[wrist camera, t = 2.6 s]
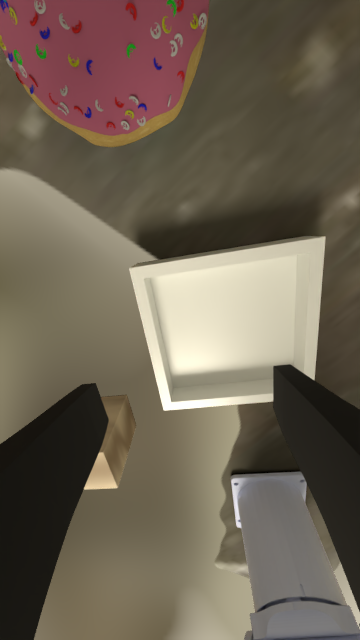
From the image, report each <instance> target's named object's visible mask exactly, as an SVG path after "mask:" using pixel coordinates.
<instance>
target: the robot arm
mask: <svg viewBox="0 0 360 640" xmlns="http://www.w3.org/2000/svg"><path fill="white" fill-rule="evenodd" d="M273 408H274V411H275V414H276V417H277V420H278V422H279V425H280V428H281V431H282V433H283V436H284V438H285V440H286V442H287V444H288V446H289V448H290V450H291V452H292V454H293V456H294V458H295V460H296V462H297V465H298V467H299V469H300V471H301V472H282V473H261V474H239V475H232V476H231V484H232V493H233V501H234V510H235V518H236V525H237V527H239V528H242V534H243V540H244V547H245V553H246V559H247V565H248V571H249V577H250V583H251V590H252V596H253V602H254V608H255V613H251V614H250V619H251V625H252V631H247V632H246V635H245V638H244V640H360V629H359V627H358V625H357V622H356V620H355V617H354V615H353V613H352V610H351V608H350V606H348V605H347V604H346V601H345V599H344V596H343V594H342V591H341V589H340V587H339V584H338V582H337V579H336V577H335V574H334V572H333V569H332V567H331V565H330V562H329V560H328V557H327V555H326V552H325V550H324V548H323V545H322V543H321V540H320V538H319V535H318V533H317V531H316V528H315V526H314V523H313V521H312V518H311V516H310V514H309V511H308V509H307V506H306V504H305V499H306V486H307V485H308V487H309V489H310V491H311V493H312V495H313V497H314V499H315V501H316V503H317V506H318V508H319V510H320V512H321V515H322V517H323V519H324V521H325V524H326V526H327V529H328V531H329V534H330V536H331V539H332V542H333V544H334V547H335V549H336V552H337V554H338V557H339V559H340V562H341V564H342V567H343V569H344V572H345V575H346V577H347V580H348V582H349V585H350V588H351V590H352V593H353V595H354V598H355V601H356V603H357V606H358V609H359V611H360V410H359V409H358V408H356V407H354V406H353V405H351V404H349V403H348V402H346V401H345V400H343V399H342V398H340V397H338V396H337V395H335V394H334V393H332V392H331V391H329V390H328V389H326V388H325V387H323V386H322V385H320V384H319V383H317V382H316V381H314V380H313V379H311V378H310V377H308V376H307V375H305V374H304V373H302V372H301V371H300V370H298V369H297V368H295V367H294V366H292V365H290V364H288V365H277V366H273ZM108 422H109V419H108V416H107V413H106V410H105V408H104V405H103V402H102V399H101V397H100V394H99V391H98V388H97V386H96V383H93V384H82V385H80V386H79V387H77V388H76V389H75V390H73V391H72V392H70V393H69V394H68V395H66V396H65V397H63V398H62V399H61V400H59V401H58V402H57V403H56V404H54V405H53V406H52V407H50V408H49V409H48V410H46V411H45V412H44V413H42V414H41V415H40V416H38V417H37V418H36V419H34V420H33V421H32V422H30V423H29V424H28V425H26V426H25V427H24V428H22V429H21V430H19V431H18V432H17V433H15V434H14V435H13V436H11V437H10V438H8V439H7V440H6V441H4V442H3V443H1V444H0V640H34V636H35V633H36V629H37V626H38V622H39V619H40V615H41V612H42V608H43V605H44V602H45V598H46V595H47V592H48V588H49V585H50V582H51V579H52V576H53V572H54V569H55V566H56V562H57V560H58V557H59V554H60V551H61V548H62V545H63V542H64V539H65V536H66V533H67V530H68V527H69V524H70V521H71V519H72V516H73V513H74V511H75V508H76V506H77V504H78V501H79V499H80V497H81V494H82V492H83V490H84V487H85V485H86V482H87V480H88V478H89V475H90V473H91V471H92V468H93V466H94V464H95V461H96V459H97V456H98V454H99V451H100V449H101V446H102V443H103V440H104V437H105V434H106V430H107V426H108ZM359 626H360V624H359Z"/></svg>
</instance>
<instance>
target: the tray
mask: <svg viewBox="0 0 360 640" xmlns="http://www.w3.org/2000/svg"><path fill="white" fill-rule="evenodd" d="M324 249H325V237H324V236H302V237H296V238H290V239H283V240H277V241H271V242H265V243H259V244H253V245H247V246H241V247H235V248H228V249H222V250H216V251H210V252H204V253H198V254H192V255H186V256H179V257H173V258H167V259H161V260H155V261H149V262H143V263H138V264H136V265H134V266H132V267H130V268H129V270H130V274H131V278H132V283H133V286H134V291H135V295H136V299H137V303H138V307H139V311H140V315H141V319H142V323H143V327H144V332H145V336H146V339H147V344H148V348H149V352H150V356H151V360H152V364H153V368H154V373H155V376H156V381H157V384H158V389H159V393H160V397H161V401H162V405H163V409H164V410H175V409H188V408H200V407H212V406H224V405H236V404H248V403H260V402H272V401H273V366H277V365H288V364H290V365H292V366H294V367H295V368H297V369H298V370H300V371H301V372H302V373H304V374H305V375H307V376H308V377H310V378H311V379H313V380H315V367H316V354H317V341H318V328H319V315H320V302H321V289H322V275H323V262H324Z"/></svg>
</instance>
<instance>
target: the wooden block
mask: <svg viewBox="0 0 360 640" xmlns="http://www.w3.org/2000/svg"><path fill="white" fill-rule="evenodd" d="M101 399H102V402H103V405H104V408H105V410H106V413H107V416H108V419H109V422H108V426H107V430H106V434H105V437H104V440H103V443H102V446H101V449H100V451H99V454H98V456H97V459H96V461H95V464H94V466H93V468H92V471H91V473H90V475H89V478H88V480H87V482H86V485H85V487H84V489H105V488H118V486H119V483H120V479H121V476H122V472H123V469H124V465H125V462H126V459H127V455H128V452H129V449H130V445H131V441H132V438H133V435H134V432H135V428H136V422H135V419H134V416H133V413H132V410H131V407H130V403H129V400H128V397H127V395H118V396H107V397H101Z"/></svg>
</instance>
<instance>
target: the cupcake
mask: <svg viewBox="0 0 360 640" xmlns="http://www.w3.org/2000/svg"><path fill="white" fill-rule="evenodd" d="M208 14H209V0H0V46H1V48H2V50H3V52H4V54H5V56H6V57H7V63H8V64H9V66H10V67H11V68H12V69H13V70H14V71H15V72H16V76H17V78H18V79H19V81H20V82H21V83H22V84H23V86H24V88H25V89H26V91H27V92H28V93H29V95H30V96H31V97H32V99H33V100H34V101H35V102H36V103H37V105H38V106H39V107H40V108H41V109H42V110H44V111H45V112H46V113H47V114H48V115H49V116H51V117H52V118H53V119H55V120H56V121H58V122H59V123H61V124H62V125H64V126H65V127H67V128H69V129H70V130H72V131H74V132H75V133H77V134H79V135H80V136H82V137H83V138H85V139H86V140H88V141H89V142H91V143H92V144H95V145H98V146H104V147H117V146H122V145H126V144H129V143H133V142H135V141H137V140H139V139H141V138H143V137H145V136H147V135H149V134H151V133H153V132H154V131H156V130H158V129H160V128H161V127H163V126H165V125H166V124H168V123H170V122H171V121H173V120H174V119H175V118H176V117H177V115H178V114H179V112H180V110H181V108H182V106H183V103H184V101H185V98H186V96H187V93H188V91H189V89H190V86H191V84H192V81H193V79H194V76H195V73H196V70H197V67H198V64H199V60H200V57H201V54H202V50H203V46H204V42H205V37H206V31H207V24H208Z"/></svg>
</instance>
